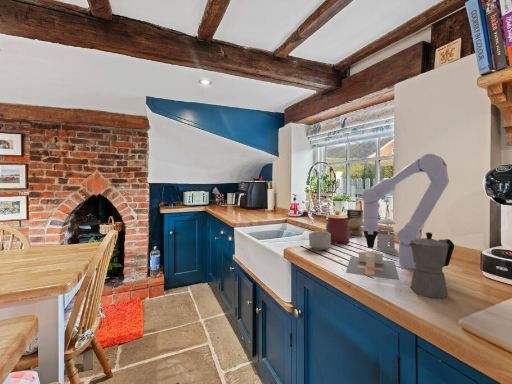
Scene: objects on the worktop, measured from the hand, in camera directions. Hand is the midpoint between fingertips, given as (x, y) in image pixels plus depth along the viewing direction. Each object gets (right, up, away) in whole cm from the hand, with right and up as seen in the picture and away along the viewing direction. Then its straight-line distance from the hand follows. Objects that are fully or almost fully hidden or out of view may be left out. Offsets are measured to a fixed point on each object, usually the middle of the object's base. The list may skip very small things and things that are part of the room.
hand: (370, 247), depth 108 cm
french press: (+15, -4, +15) cm, 22 cm away
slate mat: (-5, -5, -12) cm, 14 cm away
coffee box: (+14, -3, +52) cm, 54 cm away
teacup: (-18, -5, +19) cm, 26 cm away
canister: (-3, -4, +33) cm, 34 cm away
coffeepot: (+3, -6, -33) cm, 34 cm away
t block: (-4, -5, -8) cm, 10 cm away
